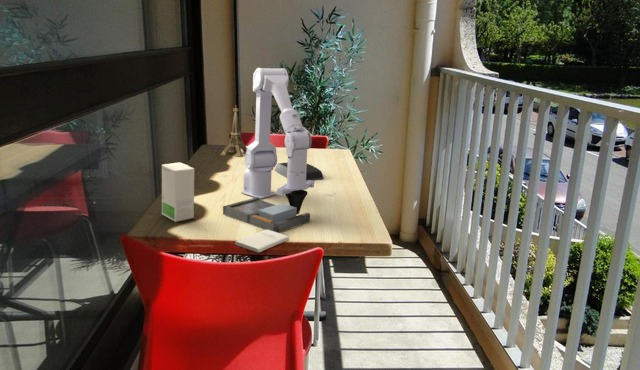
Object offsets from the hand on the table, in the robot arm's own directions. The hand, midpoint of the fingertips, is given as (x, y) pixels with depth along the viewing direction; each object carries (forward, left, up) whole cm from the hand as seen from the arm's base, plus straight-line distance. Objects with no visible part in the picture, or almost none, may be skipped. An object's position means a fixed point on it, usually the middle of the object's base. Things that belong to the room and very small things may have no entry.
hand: (295, 213), depth 164 cm
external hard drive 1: (+8, -22, -2) cm, 23 cm away
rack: (-5, -6, -1) cm, 9 cm away
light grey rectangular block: (-1, -6, -1) cm, 7 cm away
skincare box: (-24, -25, -1) cm, 35 cm away
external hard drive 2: (-33, +39, -2) cm, 51 cm away
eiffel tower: (-78, +46, -1) cm, 90 cm away
